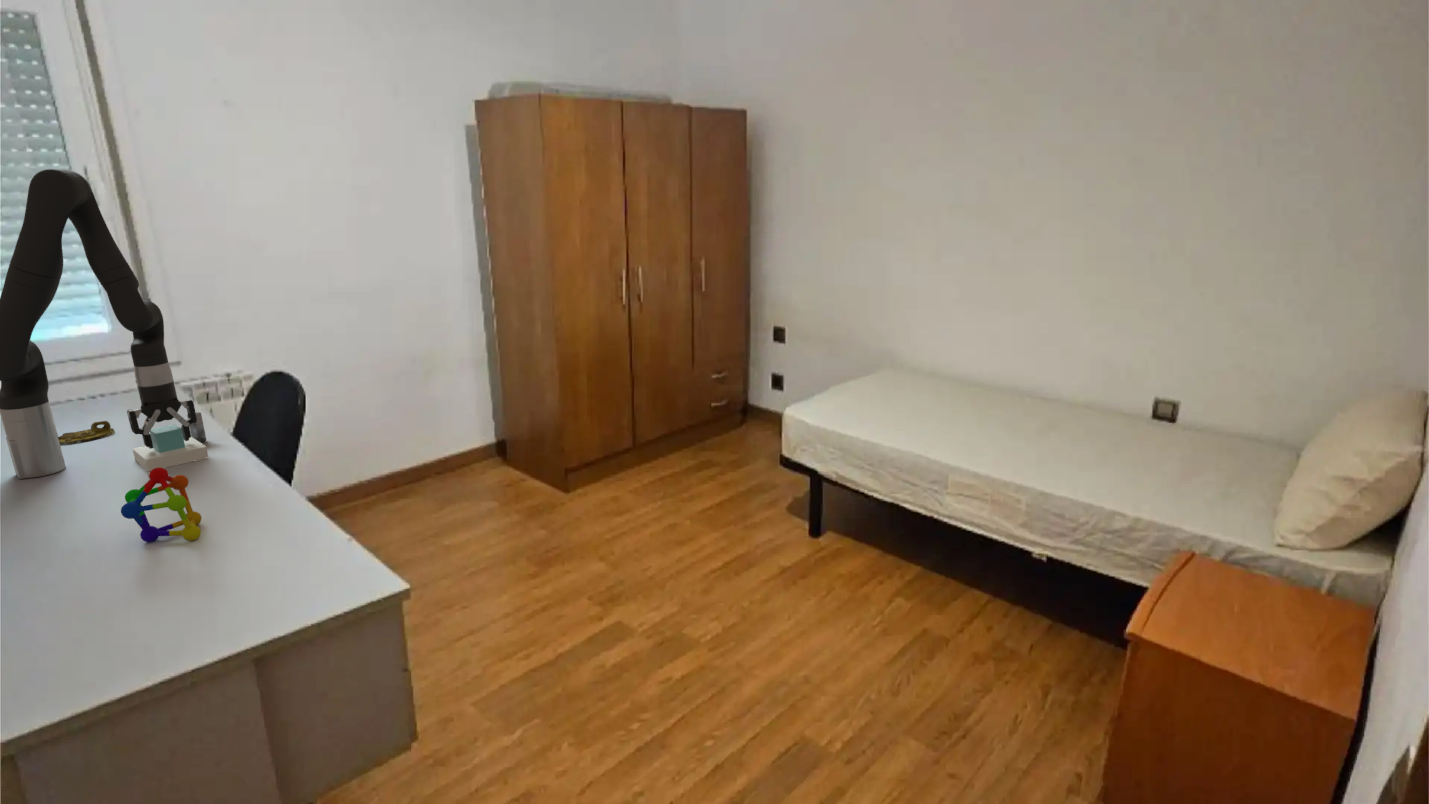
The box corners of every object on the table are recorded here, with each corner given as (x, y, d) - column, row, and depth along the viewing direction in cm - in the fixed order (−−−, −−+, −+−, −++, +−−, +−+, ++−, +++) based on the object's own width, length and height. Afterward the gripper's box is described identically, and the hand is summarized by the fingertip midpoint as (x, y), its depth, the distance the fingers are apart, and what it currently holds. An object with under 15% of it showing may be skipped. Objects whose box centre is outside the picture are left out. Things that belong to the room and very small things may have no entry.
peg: (194, 444, 211) (189, 416, 209) (191, 442, 213) (185, 414, 211) (208, 441, 213) (202, 413, 211) (204, 439, 216) (199, 411, 213)
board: (148, 471, 192) (145, 460, 191) (135, 459, 200) (132, 448, 199) (208, 457, 201) (206, 446, 200) (193, 447, 209) (191, 436, 208)
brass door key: (50, 453, 210) (118, 439, 220) (46, 437, 209) (114, 424, 219) (45, 442, 216) (112, 429, 226) (41, 426, 215) (108, 414, 225)
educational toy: (125, 542, 156) (107, 470, 153) (200, 523, 164) (185, 454, 161) (134, 562, 144) (116, 484, 141) (215, 540, 153) (199, 466, 150)
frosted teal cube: (159, 452, 196) (155, 433, 194) (153, 448, 199) (149, 429, 198) (185, 447, 200) (181, 428, 198) (178, 442, 203) (175, 424, 202)
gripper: (124, 389, 187) (139, 454, 192) (192, 378, 198) (205, 440, 202) (116, 384, 192) (131, 448, 197) (183, 373, 202) (196, 434, 207)
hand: (169, 443), depth 199 cm, fingers open, 7 cm apart
